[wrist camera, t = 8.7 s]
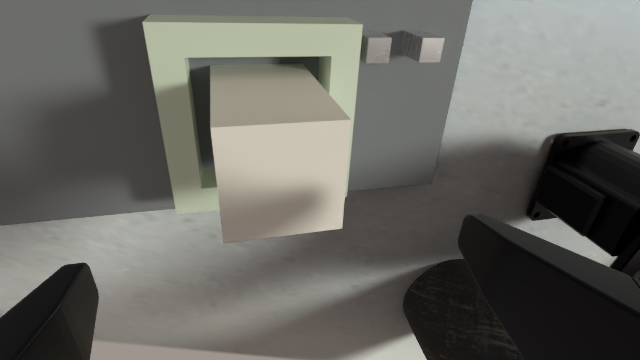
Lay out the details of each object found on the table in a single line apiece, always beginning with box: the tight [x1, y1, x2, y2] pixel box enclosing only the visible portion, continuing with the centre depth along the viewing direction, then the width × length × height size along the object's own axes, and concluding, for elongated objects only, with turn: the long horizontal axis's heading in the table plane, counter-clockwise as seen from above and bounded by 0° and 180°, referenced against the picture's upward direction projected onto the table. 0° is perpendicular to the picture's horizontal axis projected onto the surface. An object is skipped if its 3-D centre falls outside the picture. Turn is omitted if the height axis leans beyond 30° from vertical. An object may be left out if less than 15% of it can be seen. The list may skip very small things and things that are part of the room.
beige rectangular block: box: [210, 63, 351, 243], centre depth 15 cm, size 4×4×7 cm
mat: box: [0, 0, 473, 225], centre depth 16 cm, size 22×17×1 cm
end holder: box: [142, 14, 363, 214], centre depth 17 cm, size 8×8×2 cm
